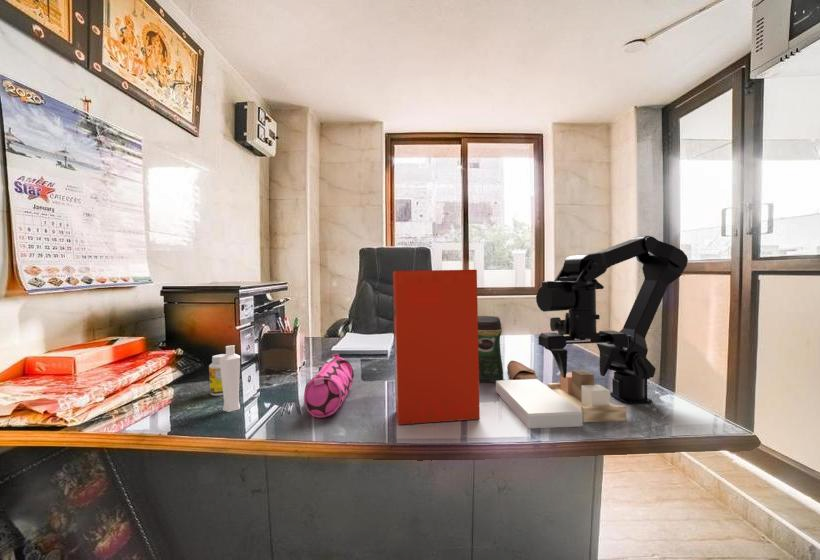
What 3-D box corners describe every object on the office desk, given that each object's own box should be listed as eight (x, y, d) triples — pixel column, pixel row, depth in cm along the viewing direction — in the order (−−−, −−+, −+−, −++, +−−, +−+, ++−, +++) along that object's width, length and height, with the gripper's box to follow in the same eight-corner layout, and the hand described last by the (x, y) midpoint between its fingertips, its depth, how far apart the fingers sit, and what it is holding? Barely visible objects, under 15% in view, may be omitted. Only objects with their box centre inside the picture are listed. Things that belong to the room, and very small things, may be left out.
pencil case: (319, 389, 98) (318, 353, 98) (354, 388, 99) (353, 352, 98) (299, 421, 77) (298, 375, 76) (345, 419, 77) (343, 373, 77)
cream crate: (599, 402, 79) (598, 384, 79) (610, 409, 75) (609, 390, 75) (581, 403, 79) (581, 385, 79) (591, 409, 75) (591, 391, 75)
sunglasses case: (544, 389, 94) (531, 367, 94) (521, 401, 95) (507, 379, 95) (534, 371, 111) (523, 352, 112) (514, 381, 112) (503, 363, 113)
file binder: (395, 410, 81) (392, 271, 80) (468, 406, 83) (466, 270, 83) (398, 425, 73) (395, 271, 72) (479, 420, 75) (477, 269, 75)
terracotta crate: (575, 388, 89) (575, 372, 89) (584, 393, 85) (584, 376, 85) (560, 388, 89) (559, 372, 89) (568, 394, 85) (567, 377, 85)
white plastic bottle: (238, 403, 88) (237, 343, 87) (245, 408, 85) (243, 345, 84) (218, 408, 84) (216, 346, 84) (224, 413, 81) (222, 348, 81)
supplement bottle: (211, 391, 98) (210, 354, 97) (233, 388, 100) (232, 352, 100) (208, 397, 92) (207, 358, 92) (232, 394, 95) (231, 356, 94)
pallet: (582, 393, 91) (581, 362, 90) (626, 420, 74) (625, 382, 73) (547, 394, 90) (547, 363, 90) (584, 422, 73) (583, 384, 73)
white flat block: (537, 390, 93) (537, 379, 93) (582, 426, 71) (582, 411, 71) (496, 391, 92) (495, 380, 92) (528, 428, 70) (528, 413, 70)
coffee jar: (502, 375, 107) (501, 314, 106) (503, 383, 99) (502, 317, 99) (470, 374, 109) (469, 314, 108) (468, 382, 101) (467, 317, 101)
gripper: (600, 305, 90) (601, 366, 90) (528, 307, 89) (530, 368, 89) (630, 309, 79) (631, 378, 79) (548, 312, 78) (549, 382, 78)
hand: (583, 376), depth 82 cm, fingers open, 9 cm apart
